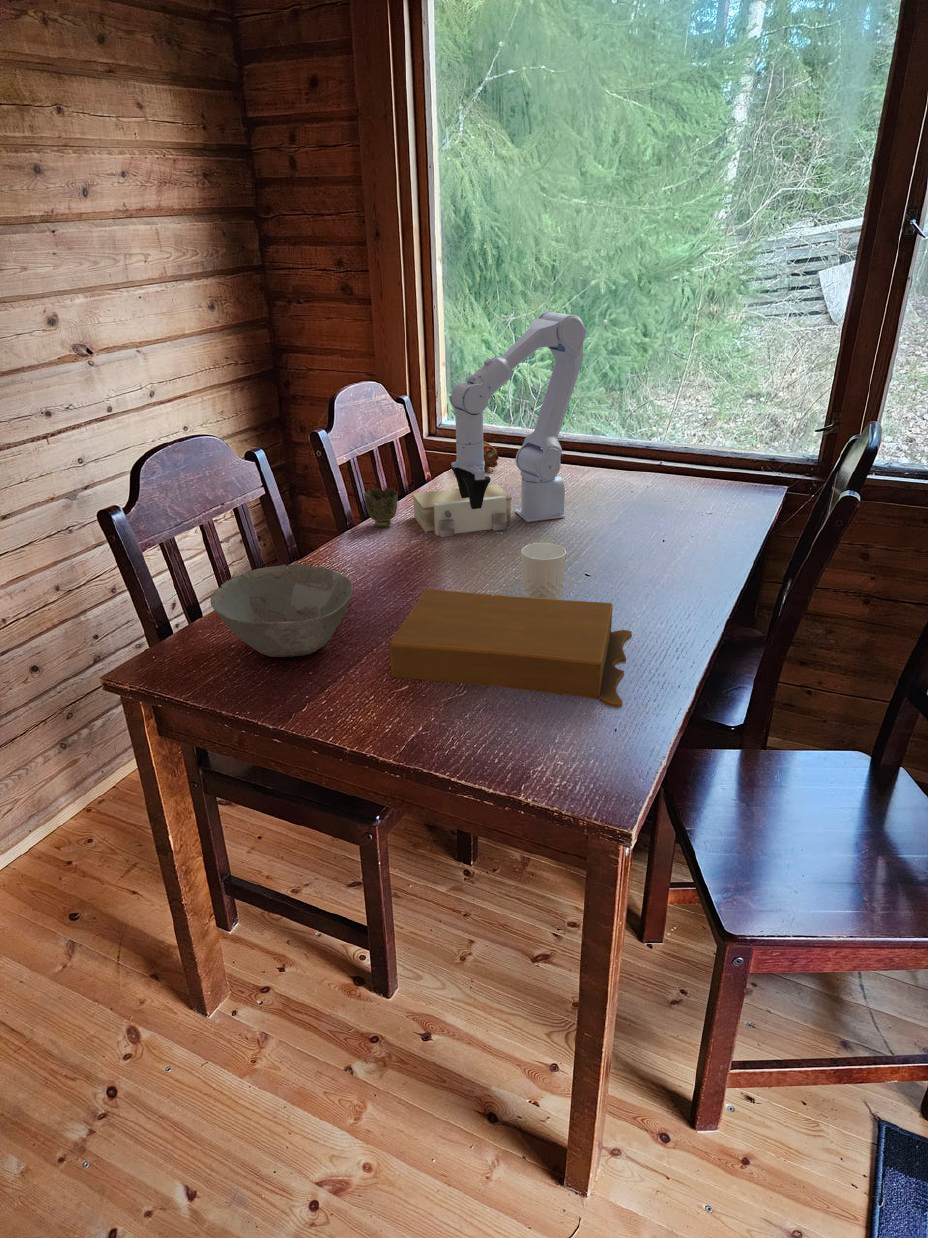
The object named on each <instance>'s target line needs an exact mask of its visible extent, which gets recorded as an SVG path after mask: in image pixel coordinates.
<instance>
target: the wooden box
mask: <svg viewBox="0 0 928 1238" xmlns="http://www.w3.org/2000/svg"><path fill="white" fill-rule="evenodd" d="M613 606H614V604H613V603H612V602H599V601H585V600H569V599H568V600H566V599H561V600H555V599H541V598H526V597H524V596H510V595H499V594H498V595H497V594H494V595H492V594H486V593H476V592H465V591H453V590H443V589H432V588H426V589H424V591H423V593H422V594H421V596H420V598H419V599H418V600H417V602H416V603H415V604H414V607H413V608H412V609H411V611H410V613H409V614H408V615H407V617H406V618H405V620H404V621H403V622H402V623H401V626H400V627H399V628H398V630H397V632H396V633H395V634H394V636H393V637H392V639H391V641H390V642H389V653H390V655H389V656H390V657H389V658H390V666H391V667H390V668H391V675H392V677H395V678H403V679H410V680H411V679H414V680H426V681H436V682H446V683H447V682H448V683H459V684H467V685H468V684H469V685H477V686H478V685H480V686H489V687H497V688H506V689H514V690H521V691H522V690H523V691H533V692H541V693H547V694H557V695H563V696H571V697H572V696H573V697H579V698H580V697H581V698H587V699H594V700H598V701H600V702H601V703H603V704H605V705H607V706H610V707H613V708H614V707H615V708H620V707H622V706H623V700H622V698H621V697H620V695H619V693H617V687H618V683H620V680H622V677H623V676H624V675H625V670H622V669H620V668H617V667H616V666H615V664H617V663H621V662H626V661H627V657H626V654H625V651H624V648H623V646H624V644H625V641H627V640H629V639H630V638H631V637H632V635H633V632H632V631H631V630H627V629H621V630H620V629H619V630H614V631H612V623H613V622H612V621H613V608H614V607H613Z"/></svg>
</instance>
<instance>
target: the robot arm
mask: <svg viewBox="0 0 928 1238" xmlns="http://www.w3.org/2000/svg"><path fill="white" fill-rule="evenodd" d="M586 335H587V328H586V326H585V324H584V322H583V320H582V319H581V318H580V316H578V315H576V314H566V313H560V312H554V311H553V310H546V311H544V312H541V314H539V316H538V317H536V318H534V320H532V321H531V324H530V326H529V327H528V329H527V330H526V331H525V332H524V333H523V334H522V335H521V336H520V337H519V338H518V339H516V341H515V342H514V343H513V344H512V345H511V346H510V347H509V348H508V349H507V350H506V351H505V352H504V353H503V355H501V356H499V357H497V356H493V357H491V358H489V357H488V358H486V359H485V360H484V361H483V365H482V366H481V367H480V368H478V369H477V370H476V372H474V373H473V374H470V375H468V377H467V379H466V381H460V382H458V383H457V384H455V386H453V388H452V391H451V395H450V396H449V398H448V399H449V403H450V405H451V406H452V407H453V408H454V416H455V442H456V443H455V444H456V445H455V446H456V460H455V461H452V462H451V464H450V465H451V467H450V468H451V470H452V471H453V474H454V476H455V478H456V482H457V487H458V489H459V491H460V495H461V498H469V500H470V505H471V508H472V509H479V508H481V507H482V503H483V499H484V494H485V491H486V488H487V486H488V485H489V484H490V483H491V481H492V480H491V477H490V476H489V475H486V472H485V470H484V465H485V462H484V455H483V441H484V411H485V410H486V409H487V407H488V404H489V402H490V401H489V400H490V399H491V398H492V396H493V395H494V394H495V393H497V391H499V390H500V389H501V388H502V387H503V386H504V385H505V384H507V382H508V381H509V380H511V377H512V371H513V370H514V368H516V367H517V366H519V365H520V364H521V363H523V362H524V361H525V360H526V359H527V358H529V357H530V356H531V355H532V354H534V353H535V352H536V351H537V350H538V349H541V348H547V349H549V350H550V352H551V353H552V356H553V358H554V361H555V362H554V366H553V369H552V372H551V375H550V379H549V382H548V384H547V387H546V392H545V395H544V398H543V401H542V405H541V408H540V411H539V414H538V417H537V421H536V423H535V427H534V430H533V432H532V433H530V434H528V435H527V436H526V437H525V438H524V440H523V443H522V445H521V447H520V448H519V449H518V450H517V452H516V453H515V454H516V455H515V464H516V467H517V468H518V470H519V471H520V476H521V489H520V491H521V495H520V496H521V497H520V498H521V499H520V500H521V502H520V503H521V505H520V508H515V509H514V510H515V511H514V512H515V513H517V514H518V515H519V517H521V519H523V520H524V521H525V522H527V523H530V522H538V521H546V520H547V521H548V520H554V519H562V518H565V517H566V515H565V497H566V495H565V493H566V492H565V491H566V488H565V483H564V480H563V478H562V477H561V475H558V474H559V473H560V470H561V464H562V463H561V455H562V453H563V449H562V446H561V444H560V442H559V436H560V432H561V429H562V426H563V423H564V419H565V416H566V414H567V410H568V406H569V404H570V401H571V398H572V395H573V392H574V388H575V385H576V382H577V380H578V376H579V373H580V371H581V368H582V367H581V366H582V364H583V359H584V341H585V337H586Z"/></svg>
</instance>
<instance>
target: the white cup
mask: <svg viewBox="0 0 928 1238" xmlns="http://www.w3.org/2000/svg"><path fill="white" fill-rule="evenodd" d="M520 556H521V557H520V559H521V560H520V561H521V562H520V563H521V579H522V580H521V581H522V590H523V597H526V598H541V599H555V600H562V594H563V589H564V580H565V570H566V568H565V567H566V557H567V550H566V548H565V547H564V546H562V545H560V544H556V543H552V542H551V543H550V542H535V543H530V544H527V545H525V546H523V547H522V548H521V551H520Z"/></svg>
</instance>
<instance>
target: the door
mask: <svg viewBox="0 0 928 1238" xmlns="http://www.w3.org/2000/svg"><path fill="white" fill-rule="evenodd" d="M499 513H506V497H505V496H504V495H503V496H494V497H486V498H484V499H483V503H482V507H481V508H479V509H472V508H471V505H470V500H469V499H468V500H459V501H450V502H442V503H434V521H435V530H434V534H435V536H440V521H441V520H449V519H453V520H454V534H462V533H469V532H478V531H487V530H493V529H492V514H499Z"/></svg>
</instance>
